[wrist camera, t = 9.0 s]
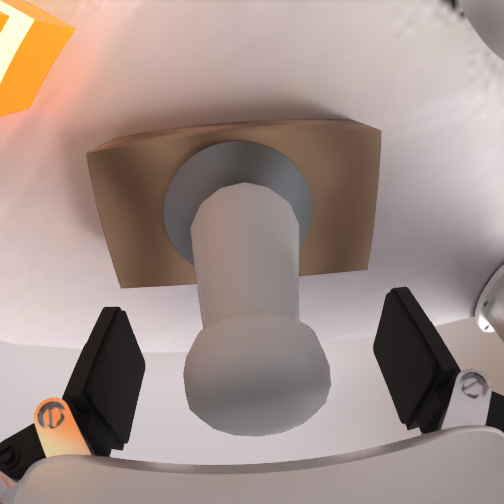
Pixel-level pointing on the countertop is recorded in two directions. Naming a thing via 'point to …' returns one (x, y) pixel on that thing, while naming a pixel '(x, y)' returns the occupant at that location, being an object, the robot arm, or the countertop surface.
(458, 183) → the countertop surface
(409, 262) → the countertop surface
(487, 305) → the robot arm
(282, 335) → the salt shaker
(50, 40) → the orange juice
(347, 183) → the walnut stand
